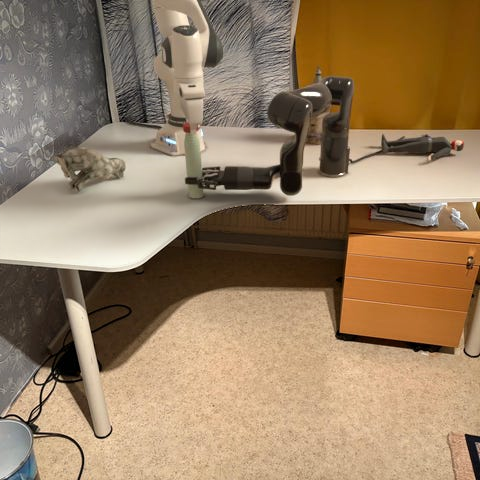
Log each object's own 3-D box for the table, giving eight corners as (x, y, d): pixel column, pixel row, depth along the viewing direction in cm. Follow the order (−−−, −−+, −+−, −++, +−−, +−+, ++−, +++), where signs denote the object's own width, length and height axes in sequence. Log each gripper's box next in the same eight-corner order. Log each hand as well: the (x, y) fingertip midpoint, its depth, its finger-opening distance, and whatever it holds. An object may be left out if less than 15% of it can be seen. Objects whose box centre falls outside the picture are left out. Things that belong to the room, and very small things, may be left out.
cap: (200, 131, 163) (199, 125, 162) (185, 133, 162) (184, 127, 161) (196, 127, 167) (196, 121, 166) (181, 129, 165) (181, 123, 164)
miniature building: (320, 132, 228) (325, 59, 214) (338, 142, 217) (344, 66, 203) (293, 137, 224) (296, 63, 209) (310, 147, 213) (314, 69, 198)
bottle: (186, 194, 175) (179, 126, 164) (199, 191, 178) (193, 122, 166) (193, 199, 172) (187, 129, 160) (206, 195, 174) (201, 126, 163)
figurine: (92, 206, 176) (137, 172, 185) (60, 158, 168) (108, 124, 176) (80, 204, 184) (124, 171, 193) (49, 157, 175) (96, 125, 184)
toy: (381, 127, 217) (459, 127, 211) (380, 142, 220) (457, 142, 214) (382, 148, 195) (470, 149, 189) (381, 165, 198) (468, 166, 192)
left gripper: (173, 78, 166) (176, 122, 172) (183, 94, 148) (186, 142, 155) (193, 77, 167) (196, 120, 174) (205, 92, 149) (208, 140, 156)
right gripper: (240, 158, 175) (189, 158, 176) (237, 176, 163) (182, 175, 164) (241, 180, 179) (190, 179, 180) (237, 198, 166) (183, 197, 167)
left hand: (191, 131), depth 164 cm, fingers closed on cap, 4 cm apart
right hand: (186, 177), depth 172 cm, fingers closed on bottle, 5 cm apart
